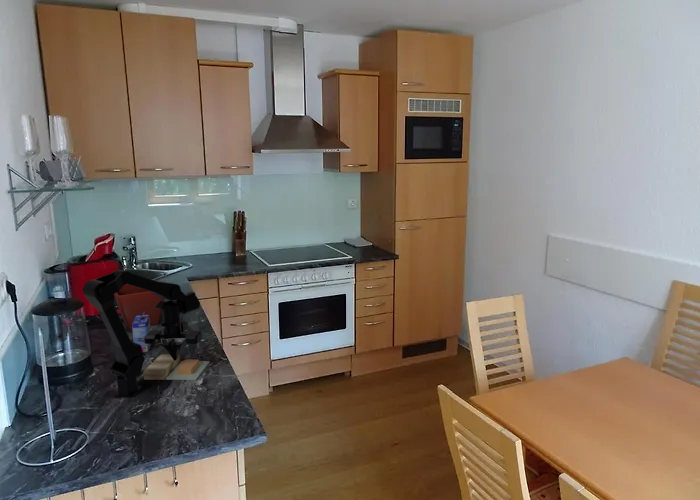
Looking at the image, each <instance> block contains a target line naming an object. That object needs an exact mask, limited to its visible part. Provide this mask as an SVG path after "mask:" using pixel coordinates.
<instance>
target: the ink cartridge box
mask: <svg viewBox="0 0 700 500" xmlns="http://www.w3.org/2000/svg"><path fill="white" fill-rule="evenodd" d="M144 313H145V312H144ZM144 313H143V315H139V316H136V317H135V319H134V321H133V323H132V328H133V329H132V337H133V338H132V340H133V342H134V343H137V344H140V345H141V347H142V351H143V353H147V352H149V351H150V348H151V346H152V344H145V343H144V337H145V335H147V334H148V333H149V332H150V331H152V330H151V326H150V317H149V315H144Z"/></svg>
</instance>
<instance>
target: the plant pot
mask: <svg viewBox="0 0 700 500" xmlns="http://www.w3.org/2000/svg"><path fill="white" fill-rule="evenodd" d="M114 295H115V302H116V306H117V308H118V310H119V313H120V315H121V318H122V320H123V322H124V324H125V325H126V327H127V329H128V330H133V328H132V323H133V321H134V319H135V317H136V316H139V315H143V313H144V312H145V313H144V315H149V317H150V327H151V326H156V325H159V324H160V320H161V317H162V309H158V308H156V305H157V304H158V303H159V302H160V301H164V302H165V299H164V298H160V297H158V296H156V295H155V294H153V293H152V292H150V291H148V290H145V289H141V288H138V287H135V286H131V285H128V284H125V285H124V286H123V287H122V288H121V289H120V290H119V291H118V292H116V293H115V294H114Z"/></svg>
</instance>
